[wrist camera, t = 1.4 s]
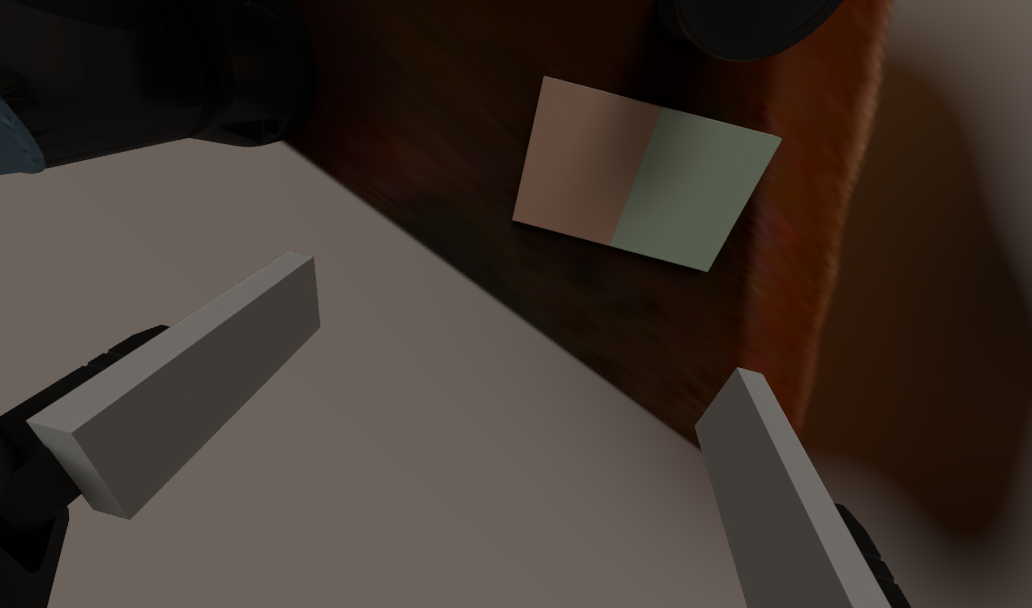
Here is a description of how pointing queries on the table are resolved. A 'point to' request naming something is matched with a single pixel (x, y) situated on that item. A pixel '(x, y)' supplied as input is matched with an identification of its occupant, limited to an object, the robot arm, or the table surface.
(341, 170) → the table surface
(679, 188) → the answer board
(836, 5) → the drinking cup
